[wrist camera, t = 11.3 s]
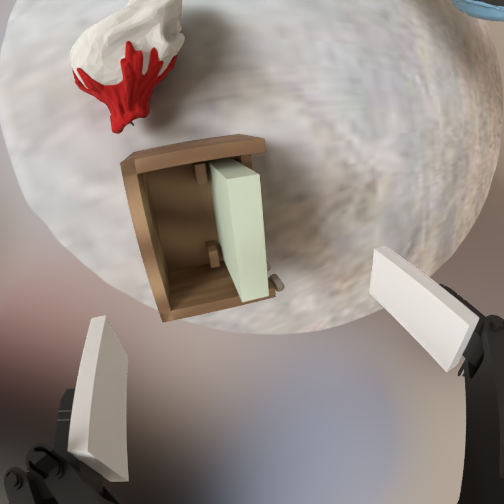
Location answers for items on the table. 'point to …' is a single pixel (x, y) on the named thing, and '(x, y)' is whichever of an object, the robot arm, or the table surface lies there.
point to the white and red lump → (128, 57)
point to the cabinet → (185, 224)
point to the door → (240, 225)
